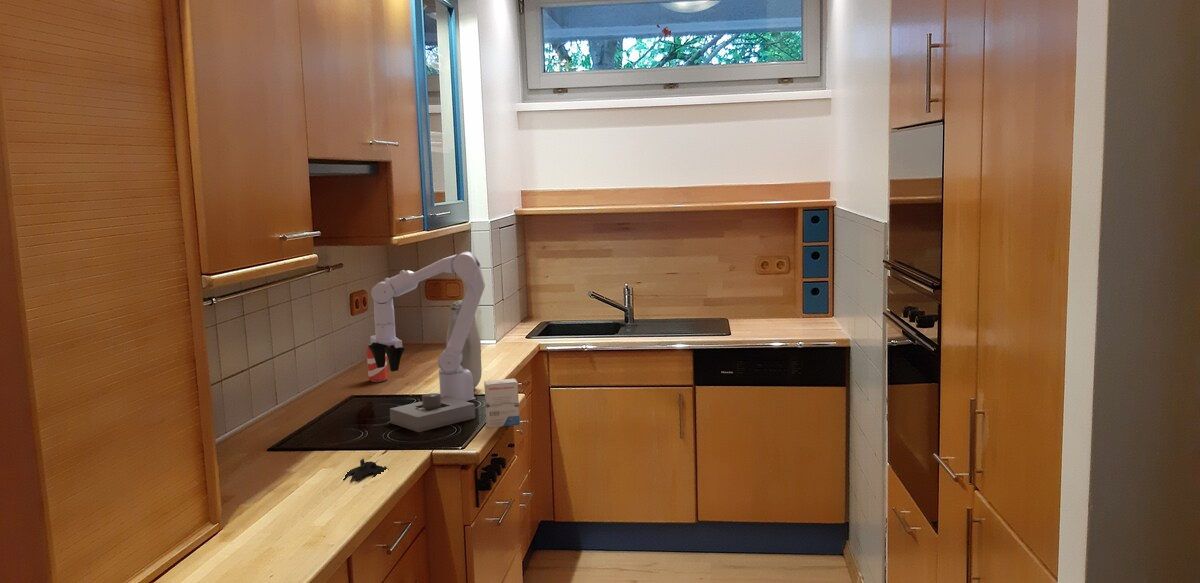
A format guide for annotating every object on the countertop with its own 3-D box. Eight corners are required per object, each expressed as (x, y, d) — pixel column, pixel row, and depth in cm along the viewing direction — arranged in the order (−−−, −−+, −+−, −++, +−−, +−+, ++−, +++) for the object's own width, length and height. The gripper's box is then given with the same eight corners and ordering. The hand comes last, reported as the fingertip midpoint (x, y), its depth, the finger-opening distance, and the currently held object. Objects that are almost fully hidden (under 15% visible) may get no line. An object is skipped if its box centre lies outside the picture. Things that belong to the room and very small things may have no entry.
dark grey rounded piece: (435, 413, 252) (434, 392, 251) (445, 416, 248) (444, 395, 248) (414, 418, 248) (413, 396, 247) (424, 421, 244) (422, 399, 244)
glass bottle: (443, 389, 285) (438, 300, 281) (472, 384, 291) (467, 297, 287) (459, 395, 277) (454, 303, 273) (488, 389, 283) (484, 299, 280)
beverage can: (365, 380, 302) (363, 344, 300) (383, 377, 305) (381, 342, 304) (373, 383, 297) (370, 347, 295) (391, 380, 301) (389, 344, 299)
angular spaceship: (397, 468, 211) (397, 456, 210) (373, 492, 196) (372, 479, 195) (351, 467, 212) (350, 455, 212) (323, 491, 197) (322, 478, 197)
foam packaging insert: (446, 409, 260) (445, 395, 260) (475, 418, 250) (474, 403, 249) (390, 422, 248) (389, 408, 247) (418, 432, 238) (417, 417, 237)
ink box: (518, 420, 246) (516, 377, 244) (520, 425, 241) (518, 381, 240) (485, 423, 244) (483, 380, 243) (487, 428, 239) (485, 384, 238)
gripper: (359, 322, 269) (362, 368, 270) (385, 327, 258) (388, 374, 260) (381, 319, 273) (384, 364, 275) (407, 324, 263) (410, 370, 265)
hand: (387, 369), depth 268 cm, fingers open, 7 cm apart
